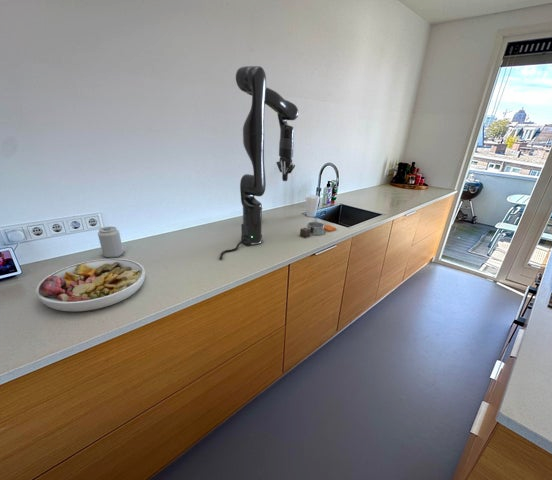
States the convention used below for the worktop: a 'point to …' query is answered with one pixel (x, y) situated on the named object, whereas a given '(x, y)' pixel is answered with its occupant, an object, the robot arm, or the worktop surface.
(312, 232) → the steel pot
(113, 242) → the can
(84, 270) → the bowl
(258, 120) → the robot arm
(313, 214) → the foam cup
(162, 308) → the worktop surface
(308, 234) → the walnut block
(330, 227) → the orange cloth
